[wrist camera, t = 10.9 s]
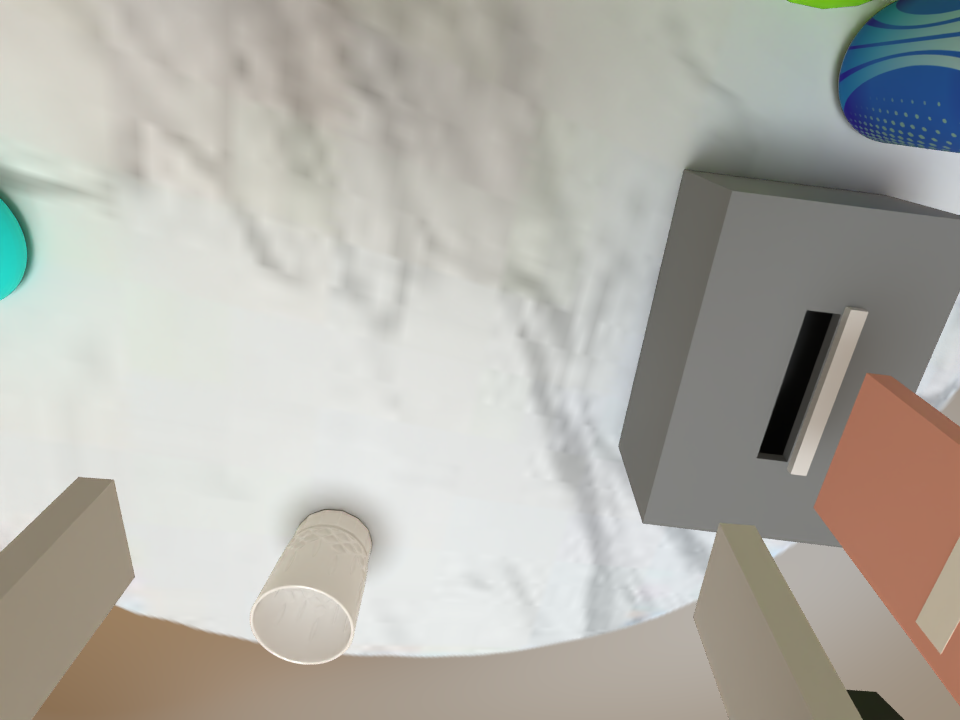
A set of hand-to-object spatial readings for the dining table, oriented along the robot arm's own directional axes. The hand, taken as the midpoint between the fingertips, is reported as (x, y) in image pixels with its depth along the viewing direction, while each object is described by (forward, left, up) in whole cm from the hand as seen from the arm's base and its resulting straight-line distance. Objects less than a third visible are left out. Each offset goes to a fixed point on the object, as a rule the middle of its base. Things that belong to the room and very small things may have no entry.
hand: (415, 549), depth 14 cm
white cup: (+29, -10, -34) cm, 46 cm away
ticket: (+5, +20, -18) cm, 27 cm away
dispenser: (+5, +20, -34) cm, 40 cm away
